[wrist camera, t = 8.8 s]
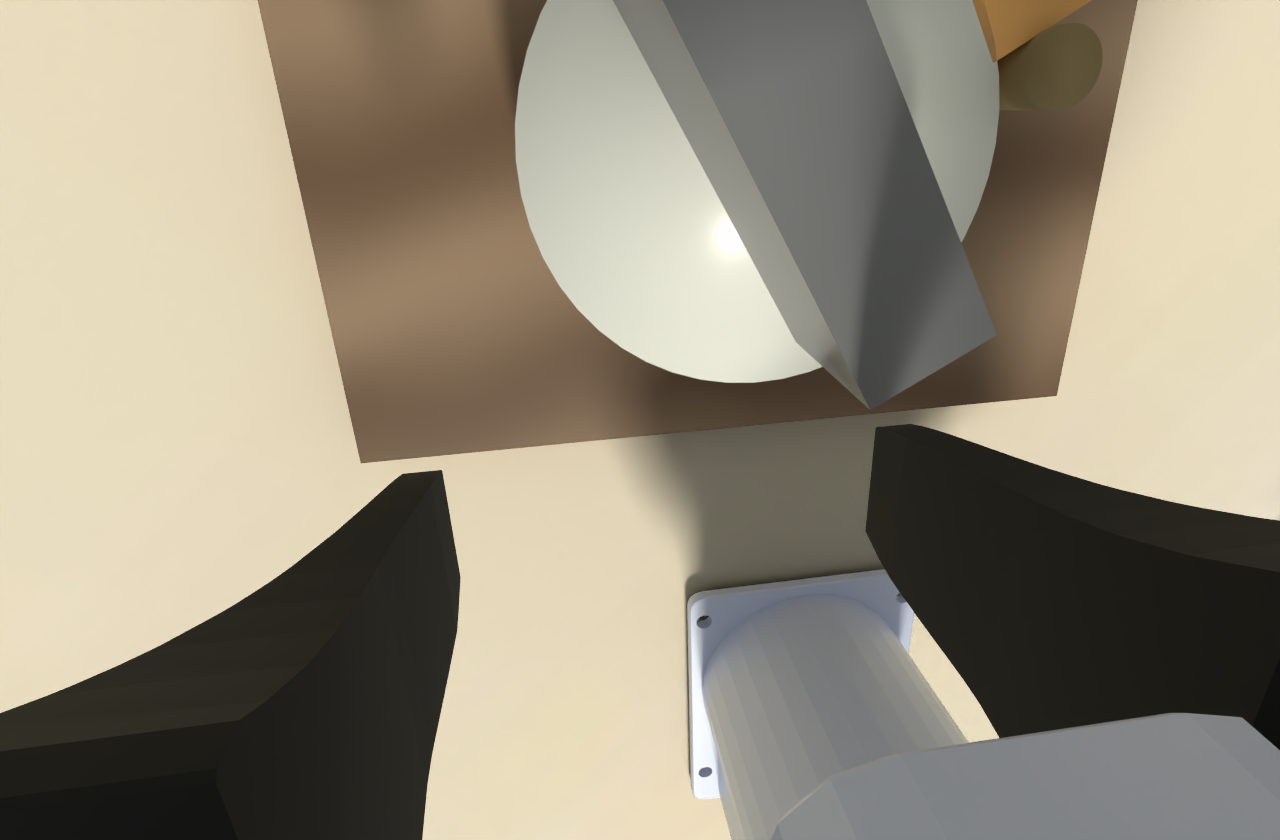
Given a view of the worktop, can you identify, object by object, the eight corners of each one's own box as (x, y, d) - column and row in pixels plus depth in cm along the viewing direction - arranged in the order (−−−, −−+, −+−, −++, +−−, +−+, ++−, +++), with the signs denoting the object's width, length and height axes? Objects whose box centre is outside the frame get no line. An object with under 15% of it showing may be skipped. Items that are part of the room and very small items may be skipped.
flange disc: (669, 442, 18) (715, 555, 14) (413, 59, 14) (356, 40, 10) (1115, 170, 17) (1328, 195, 12) (974, -335, 13) (1216, -573, 8)
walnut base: (1025, 378, 23) (1141, 443, 19) (371, 439, 21) (330, 528, 16) (1137, -229, 17) (1348, -344, 13) (229, -230, 15) (103, -369, 10)
